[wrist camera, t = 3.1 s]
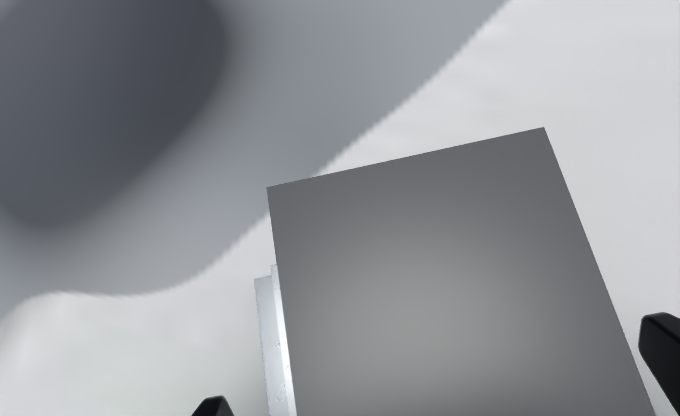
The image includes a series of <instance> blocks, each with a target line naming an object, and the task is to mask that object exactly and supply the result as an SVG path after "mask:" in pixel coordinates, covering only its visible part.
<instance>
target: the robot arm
mask: <svg viewBox="0 0 680 416" xmlns="http://www.w3.org/2000/svg"><path fill="white" fill-rule="evenodd" d="M638 348H639V352H640V354H641V356H642V358H643V359H644V361H645V363H646V364H647V366H648V367H649V369H650V371H651V372H652V374H653V375H654V377H655V379H656V380H657V382H658V383H659V385H660V387H661V388H662V390H663V391H664V393H665V395H666V396H667V398H668V399H669V401H670V403H671V404H672V406H673V407H674V409H675V411H676V412H677V414H678V415H679V416H680V318H677V317H675V316H673V315H671V314H668V313H664V312H660V313H655V314H650V315H645V316H644V317H643V318H642V319H641V324H640V332H639V339H638ZM191 416H234V414H233V412H232V410H231V408H230V406H229V404H228V402H227V400H226V398H225V397H224V396H215V397H210V398H206V399H205V400H203V401H202V402H201V404H200V405H199V406H198V408H197V409H196V410H195V412H194V413H193V414H192V415H191Z"/></svg>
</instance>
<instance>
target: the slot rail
mask: <svg viewBox="0 0 680 416" xmlns="http://www.w3.org/2000/svg"><path fill="white" fill-rule="evenodd" d="M270 267H271V276H266V277H262V278H257V279H254V283H255V292H256V301H257V310H258V318H259V327H260V336H261V345H262V354H263V363H264V372H265V381H266V389H267V398H268V407H269V416H297V413H296V406H295V398H294V391H293V383H292V376H291V368H290V360H289V353H288V345H287V338H286V330H285V323H284V315H283V307H282V300H281V292H280V285H279V277H278V270H277V264H276V265H271V266H270Z"/></svg>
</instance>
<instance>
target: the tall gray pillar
mask: <svg viewBox="0 0 680 416" xmlns="http://www.w3.org/2000/svg"><path fill="white" fill-rule="evenodd" d="M267 194H268V201H269V209H270V217H271V224H272V232H273V239H274V247H275V254H276V262H277V270H278V277H279V285H280V292H281V300H282V307H283V315H284V323H285V330H286V338H287V345H288V353H289V360H290V368H291V376H292V383H293V391H294V398H295V406H296V413H297V416H656V415H655V412H654V410H653V407H652V405H651V402H650V399H649V397H648V394H647V392H646V389H645V387H644V384H643V381H642V379H641V376H640V374H639V371H638V368H637V366H636V363H635V361H634V358H633V356H632V353H631V350H630V348H629V345H628V343H627V340H626V337H625V335H624V332H623V330H622V327H621V325H620V322H619V319H618V317H617V314H616V312H615V309H614V306H613V304H612V301H611V299H610V296H609V294H608V291H607V288H606V286H605V283H604V281H603V278H602V275H601V273H600V270H599V268H598V265H597V263H596V260H595V257H594V255H593V252H592V250H591V247H590V245H589V242H588V239H587V237H586V234H585V232H584V229H583V226H582V224H581V221H580V219H579V216H578V214H577V211H576V208H575V206H574V203H573V201H572V198H571V195H570V193H569V190H568V188H567V185H566V183H565V180H564V177H563V175H562V172H561V170H560V167H559V164H558V162H557V159H556V157H555V154H554V152H553V149H552V146H551V144H550V141H549V139H548V136H547V133H546V131H545V128H544V127H542V128H537V129H533V130H528V131H523V132H519V133H514V134H510V135H505V136H500V137H496V138H491V139H487V140H482V141H478V142H473V143H468V144H464V145H459V146H455V147H450V148H445V149H441V150H436V151H432V152H427V153H423V154H418V155H413V156H409V157H404V158H400V159H395V160H390V161H386V162H381V163H377V164H372V165H367V166H363V167H358V168H354V169H349V170H345V171H340V172H335V173H331V174H326V175H322V176H317V177H312V178H308V179H303V180H299V181H294V182H290V183H285V184H280V185H276V186H271V187H267Z"/></svg>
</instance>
